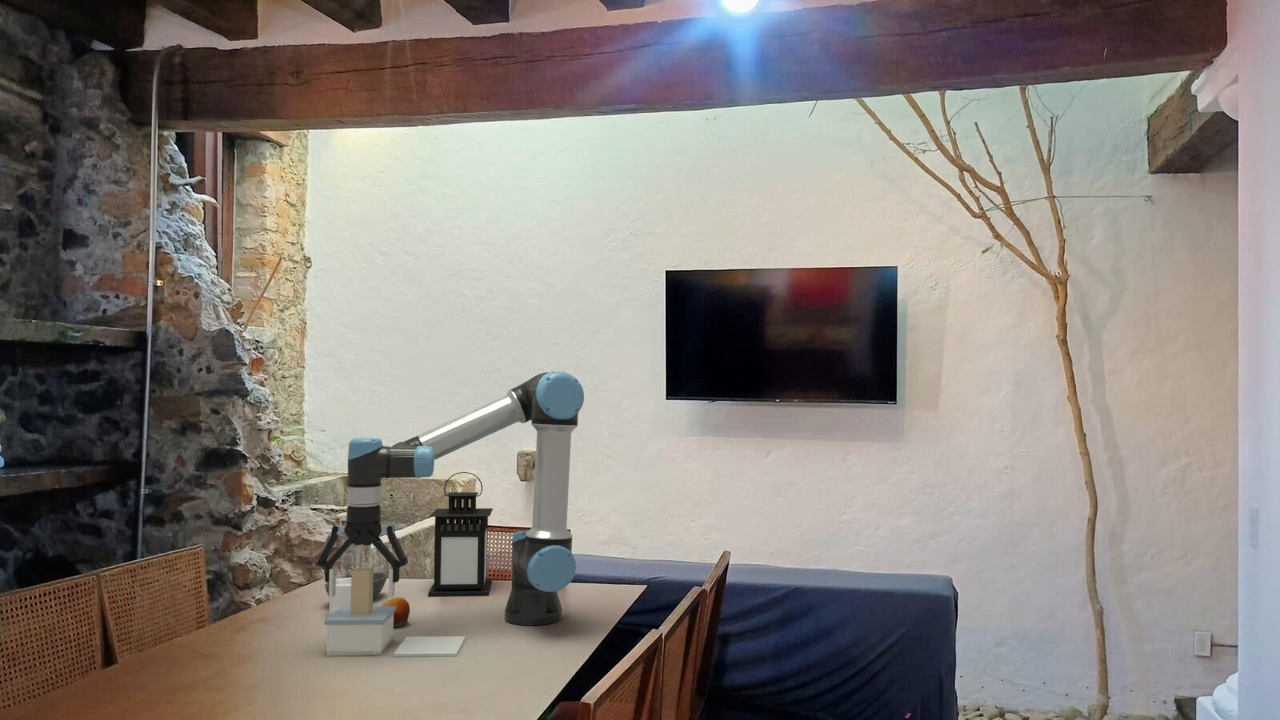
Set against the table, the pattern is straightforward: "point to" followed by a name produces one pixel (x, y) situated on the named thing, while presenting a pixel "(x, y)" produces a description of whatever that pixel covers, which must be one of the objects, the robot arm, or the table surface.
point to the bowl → (378, 583)
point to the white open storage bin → (359, 639)
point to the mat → (430, 646)
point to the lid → (361, 603)
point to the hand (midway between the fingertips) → (361, 596)
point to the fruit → (399, 610)
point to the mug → (341, 595)
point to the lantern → (461, 547)
